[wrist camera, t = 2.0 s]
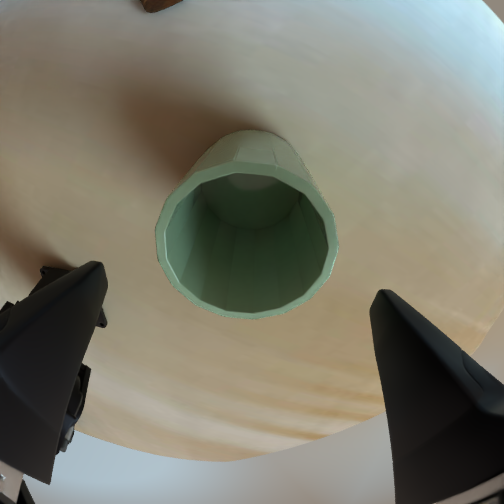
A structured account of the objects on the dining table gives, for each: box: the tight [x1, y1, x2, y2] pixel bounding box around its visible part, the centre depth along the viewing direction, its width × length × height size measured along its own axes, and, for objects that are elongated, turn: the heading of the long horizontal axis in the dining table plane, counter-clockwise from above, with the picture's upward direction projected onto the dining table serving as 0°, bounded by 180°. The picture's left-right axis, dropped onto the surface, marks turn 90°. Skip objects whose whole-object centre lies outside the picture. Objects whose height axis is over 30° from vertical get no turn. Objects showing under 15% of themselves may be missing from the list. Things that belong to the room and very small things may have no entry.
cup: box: [155, 130, 339, 319], centre depth 13 cm, size 7×7×8 cm
